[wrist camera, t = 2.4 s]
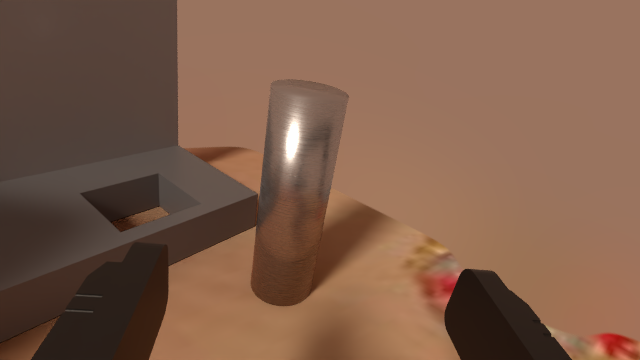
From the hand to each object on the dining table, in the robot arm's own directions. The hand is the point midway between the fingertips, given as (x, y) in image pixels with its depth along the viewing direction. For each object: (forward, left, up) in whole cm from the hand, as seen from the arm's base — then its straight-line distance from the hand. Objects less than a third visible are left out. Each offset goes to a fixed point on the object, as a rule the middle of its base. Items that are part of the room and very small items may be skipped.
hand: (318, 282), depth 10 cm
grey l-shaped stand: (+20, -2, -10) cm, 23 cm away
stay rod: (+8, -8, -10) cm, 16 cm away
